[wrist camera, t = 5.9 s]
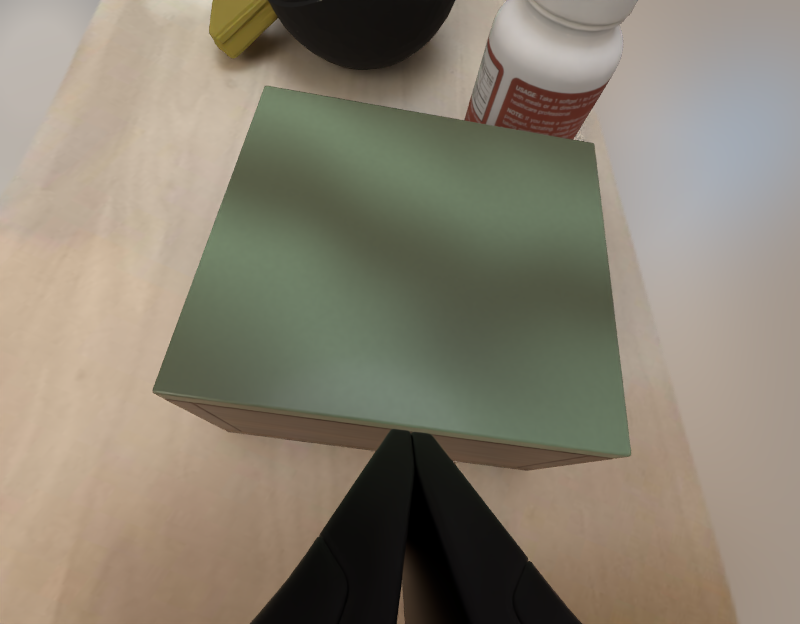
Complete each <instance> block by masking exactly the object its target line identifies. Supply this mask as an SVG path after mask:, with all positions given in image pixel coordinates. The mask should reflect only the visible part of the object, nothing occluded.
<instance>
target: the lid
mask: <svg viewBox="0 0 800 624" xmlns="http://www.w3.org/2000/svg"><path fill="white" fill-rule="evenodd" d="M153 393H154V394H156V395H158V396H160V397H162V398H164V399H170V400H178V401H185V402H193V403H200V404H208V405H216V406H223V407H231V408H238V409H246V410H253V411H261V412H268V413H276V414H283V415H291V416H298V417H306V418H314V419H321V420H329V421H336V422H344V423H351V424H359V425H366V426H374V427H381V428H389V429H400V430H408V431H412V432H414V431H415V432H423V433H430V434H434V435H442V436H449V437H457V438H464V439H472V440H479V441H487V442H495V443H502V444H510V445H517V446H525V447H532V448H540V449H547V450H555V451H562V452H570V453H577V454H585V455H593V456H600V457H608V458H615V459H616V458H623V457H629V456H631V448H630V439H629V431H628V423H627V414H626V406H625V397H624V389H623V381H622V372H621V364H620V356H619V347H618V339H617V330H616V322H615V314H614V305H613V297H612V289H611V280H610V272H609V263H608V255H607V247H606V238H605V230H604V222H603V213H602V205H601V196H600V188H599V180H598V171H597V163H596V155H595V146H594V144H593V143H589V142H584V141H578V140H572V139H566V138H561V137H555V136H549V135H544V134H538V133H532V132H527V131H521V130H515V129H510V128H504V127H498V126H493V125H487V124H481V123H476V122H470V121H464V120H459V119H453V118H447V117H442V116H436V115H430V114H424V113H419V112H413V111H407V110H402V109H396V108H390V107H385V106H379V105H373V104H368V103H362V102H356V101H351V100H345V99H339V98H334V97H328V96H322V95H317V94H311V93H305V92H300V91H294V90H288V89H282V88H277V87H271V86H265V87H264V90H263V93H262V95H261V98H260V101H259V103H258V106H257V109H256V112H255V114H254V117H253V120H252V122H251V125H250V128H249V131H248V133H247V136H246V139H245V141H244V144H243V147H242V149H241V152H240V155H239V158H238V160H237V163H236V166H235V168H234V171H233V174H232V176H231V179H230V182H229V185H228V187H227V190H226V193H225V195H224V198H223V201H222V204H221V206H220V209H219V212H218V214H217V217H216V220H215V222H214V225H213V228H212V231H211V233H210V236H209V239H208V241H207V244H206V247H205V250H204V252H203V255H202V258H201V260H200V263H199V266H198V268H197V271H196V274H195V277H194V279H193V282H192V285H191V287H190V290H189V293H188V295H187V298H186V301H185V304H184V306H183V309H182V312H181V314H180V317H179V320H178V323H177V325H176V328H175V331H174V333H173V336H172V339H171V341H170V344H169V347H168V350H167V352H166V355H165V358H164V360H163V363H162V366H161V368H160V371H159V374H158V377H157V379H156V382H155V385H154V387H153Z"/></svg>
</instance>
